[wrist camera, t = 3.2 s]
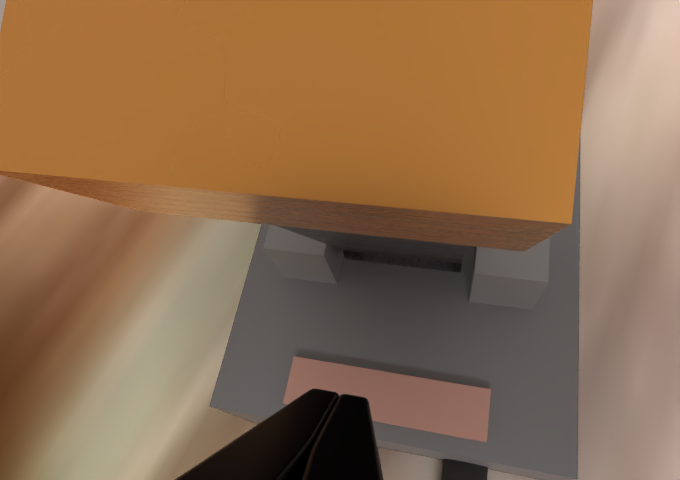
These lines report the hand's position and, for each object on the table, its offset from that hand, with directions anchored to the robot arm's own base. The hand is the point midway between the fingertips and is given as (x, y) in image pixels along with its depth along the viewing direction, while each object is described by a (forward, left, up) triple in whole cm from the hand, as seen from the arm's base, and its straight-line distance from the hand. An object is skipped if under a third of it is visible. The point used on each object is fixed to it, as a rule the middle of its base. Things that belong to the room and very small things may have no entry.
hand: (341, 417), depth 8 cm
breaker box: (+3, +4, -9) cm, 10 cm away
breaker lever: (+3, +4, -4) cm, 7 cm away
